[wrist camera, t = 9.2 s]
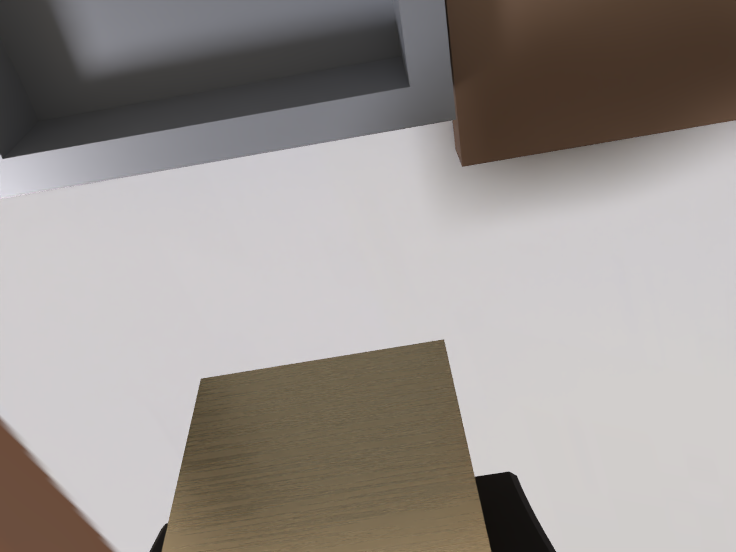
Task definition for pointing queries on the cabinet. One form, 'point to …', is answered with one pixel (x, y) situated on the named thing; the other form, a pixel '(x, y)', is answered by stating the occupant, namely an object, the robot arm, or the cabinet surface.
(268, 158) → the cabinet surface
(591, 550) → the cabinet surface
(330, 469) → the stop block
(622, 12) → the crank base
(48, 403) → the cabinet surface
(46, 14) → the tray
